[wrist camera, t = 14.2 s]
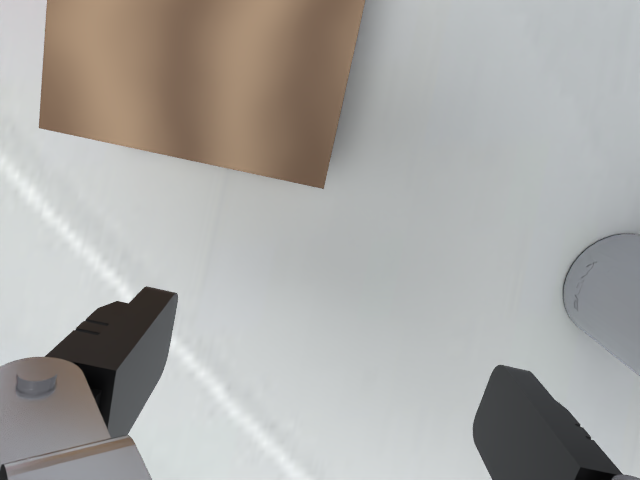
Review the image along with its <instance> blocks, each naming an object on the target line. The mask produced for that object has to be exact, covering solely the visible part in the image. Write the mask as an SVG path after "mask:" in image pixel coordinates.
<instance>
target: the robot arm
mask: <svg viewBox="0 0 640 480" xmlns="http://www.w3.org/2000/svg"><path fill="white" fill-rule="evenodd" d="M177 302H178V295H177V293H174V292H169V291H165V290H160V289H156V288H151V287H147V286H146V287H144V288H143V289H142V290H141V291H140V292H139V293H138V294H137V295H136V297H135V298H134V299H133V300H132V301H131V302H130V303H129V304H128V303H123V302H119V301H116V302H113V303H111V304H108V305H105V306H103V307H100V308H98V309H97V310H95V311H94V312H93V313H92V314H91V315H90V316H89V317H88V318H87V319H86V321H83V322H82V323H81V324H80V325H79V326H78V327H77V328H76V330H74V331H72V332H71V333H70V334H69V335H68V336H67V337H66V338H65V339H64V340H63V341H61V342H60V343H59V344H58V345H57V346H56V347H55V348H54V349H53V350H52V351H50V352H49V353H48V354H47V355H46V356H45V357H32V358H25V359H20V360H16V361H13V362H10V363H7V364H5V365H3V366H1V367H0V480H152V478H151V476H150V474H149V472H148V470H147V468H146V466H145V463H144V461H143V459H142V457H141V455H140V453H139V451H138V449H137V447H136V445H135V443H134V441H133V439H132V438H131V437H130V436H129V435H128V433H129V431H130V429H131V428H132V426H133V424H134V423H135V421H136V419H137V417H138V416H139V414H140V412H141V410H142V409H143V407H144V405H145V403H146V402H147V400H148V398H149V397H150V395H151V393H152V391H153V390H154V388H155V386H156V384H157V383H158V381H159V379H160V377H161V375H162V373H163V370H164V367H165V364H166V361H167V357H168V352H169V347H170V341H171V336H172V330H173V325H174V319H175V314H176V308H177ZM564 303H565V308H566V311H567V313H568V315H569V317H570V318H571V320H572V321H573V322H574V323H575V325H576V326H578V327H579V328H580V329H581V330H583V331H584V332H585V333H586V334H588V335H589V336H590V337H591V338H593V339H594V340H595V341H596V342H598V343H599V344H600V345H601V346H603V347H604V348H605V349H606V350H607V351H609V352H610V353H611V354H612V355H614V356H615V357H616V358H617V359H619V360H620V361H621V362H622V363H624V364H625V365H626V366H628V367H629V368H630V369H631V370H633V371H634V372H635V373H636V374H638V375H639V376H640V235H636V234H620V235H615V236H610V237H608V238H605V239H603V240H600V241H598V242H597V243H595V244H593V245H592V246H590V247H589V248H588V249H586V250H585V251H584V252H583V253H582V254H581V255H580V256H579V257H578V258H577V260H576V261H575V262H574V264H573V265H572V267H571V269H570V271H569V273H568V275H567V277H566V281H565V285H564ZM473 438H474V442H475V445H476V447H477V449H478V451H479V453H480V455H481V457H482V459H483V462H484V464H485V466H486V468H487V470H488V472H489V474H490V476H491V478H492V480H640V478H637V477H634V476H629V475H623V474H622V473H621V472H620V471H619V469H618V468H617V467H616V466H615V465H614V464H613V462H612V461H611V460H610V459H609V458H608V457H607V455H606V454H605V453H604V452H603V451H602V449H601V448H600V447H599V446H598V445H597V444H596V442H595V441H594V440H591V437H590V435H589V434H588V433H587V432H586V431H585V430H584V428H582V427H580V424H579V423H578V421H577V420H576V419H575V418H574V417H573V416H572V414H571V413H570V412H569V411H568V410H567V409H566V408H565V407H563V406H562V405H561V404H559V403H558V402H557V401H556V400H554V398H553V397H552V396H551V395H550V394H549V392H548V391H547V390H546V389H545V388H544V387H543V385H542V384H541V383H540V382H539V381H538V379H537V378H536V377H535V376H534V375H533V374H532V373H531V372H530V371H526V370H522V369H517V368H513V367H508V366H503V365H498V366H497V367H495V369H494V370H493V372H492V374H491V376H490V379H489V382H488V384H487V387H486V389H485V392H484V395H483V397H482V400H481V402H480V405H479V408H478V410H477V413H476V416H475V419H474V423H473Z"/></svg>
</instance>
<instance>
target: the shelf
mask: <svg viewBox="0 0 640 480" xmlns="http://www.w3.org/2000/svg"><path fill="white" fill-rule="evenodd" d="M364 4H365V0H47V10H46V26H45V41H44V57H43V72H42V88H41V103H40V119H39V128H41V129H46V130H51V131H56V132H60V133H65V134H70V135H74V136H79V137H84V138H88V139H93V140H98V141H102V142H107V143H112V144H116V145H121V146H126V147H130V148H135V149H140V150H144V151H149V152H154V153H159V154H163V155H168V156H173V157H177V158H182V159H187V160H191V161H196V162H201V163H205V164H210V165H215V166H219V167H224V168H229V169H233V170H238V171H243V172H248V173H252V174H257V175H262V176H266V177H271V178H276V179H280V180H285V181H290V182H294V183H299V184H304V185H308V186H313V187H318V188H322V189H324V185H325V180H326V176H327V171H328V167H329V162H330V158H331V153H332V148H333V144H334V139H335V135H336V130H337V126H338V121H339V117H340V112H341V108H342V103H343V99H344V94H345V90H346V85H347V81H348V76H349V72H350V67H351V63H352V58H353V54H354V49H355V45H356V40H357V36H358V31H359V27H360V22H361V18H362V13H363V8H364Z"/></svg>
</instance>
